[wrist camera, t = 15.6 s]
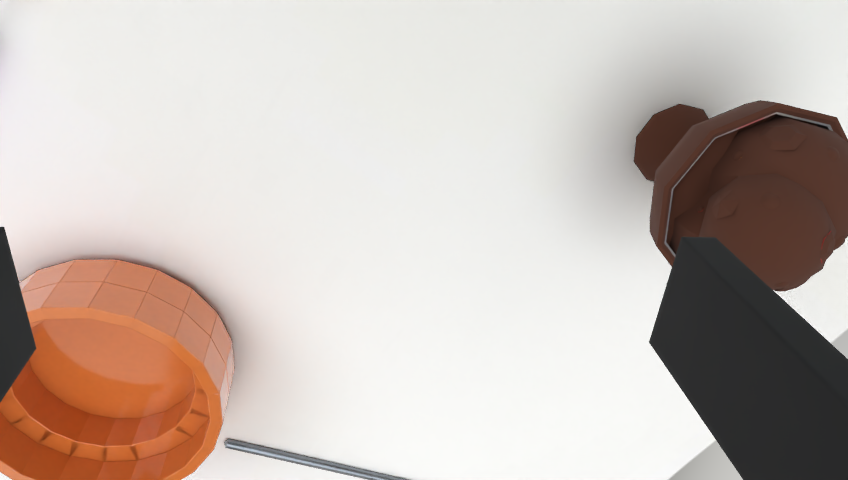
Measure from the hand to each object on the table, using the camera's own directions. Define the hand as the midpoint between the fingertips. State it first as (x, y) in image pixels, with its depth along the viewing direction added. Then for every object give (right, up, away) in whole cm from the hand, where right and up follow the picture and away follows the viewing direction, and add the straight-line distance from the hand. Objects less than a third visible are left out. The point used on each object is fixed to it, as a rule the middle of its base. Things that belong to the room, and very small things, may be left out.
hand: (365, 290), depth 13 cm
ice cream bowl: (+18, +7, +29) cm, 35 cm away
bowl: (-20, -7, +31) cm, 38 cm away
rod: (-6, -17, +39) cm, 44 cm away
